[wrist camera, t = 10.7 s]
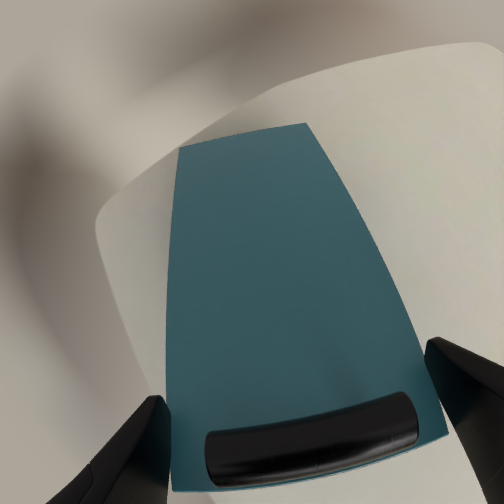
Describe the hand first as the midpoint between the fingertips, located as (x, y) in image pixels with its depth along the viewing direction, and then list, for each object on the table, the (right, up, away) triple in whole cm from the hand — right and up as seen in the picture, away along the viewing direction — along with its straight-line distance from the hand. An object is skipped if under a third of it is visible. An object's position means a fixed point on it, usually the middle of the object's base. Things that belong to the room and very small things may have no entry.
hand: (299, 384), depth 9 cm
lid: (-1, +4, +6) cm, 7 cm away
